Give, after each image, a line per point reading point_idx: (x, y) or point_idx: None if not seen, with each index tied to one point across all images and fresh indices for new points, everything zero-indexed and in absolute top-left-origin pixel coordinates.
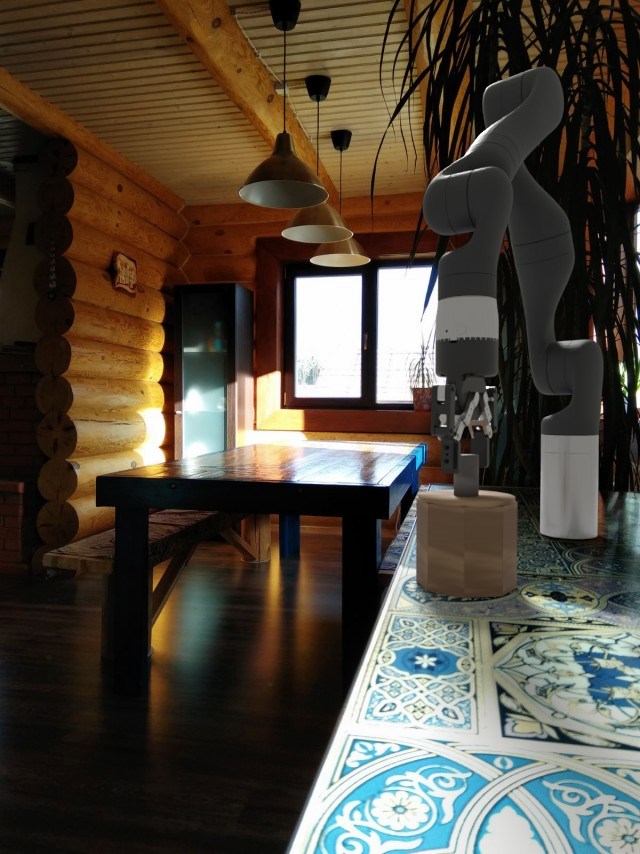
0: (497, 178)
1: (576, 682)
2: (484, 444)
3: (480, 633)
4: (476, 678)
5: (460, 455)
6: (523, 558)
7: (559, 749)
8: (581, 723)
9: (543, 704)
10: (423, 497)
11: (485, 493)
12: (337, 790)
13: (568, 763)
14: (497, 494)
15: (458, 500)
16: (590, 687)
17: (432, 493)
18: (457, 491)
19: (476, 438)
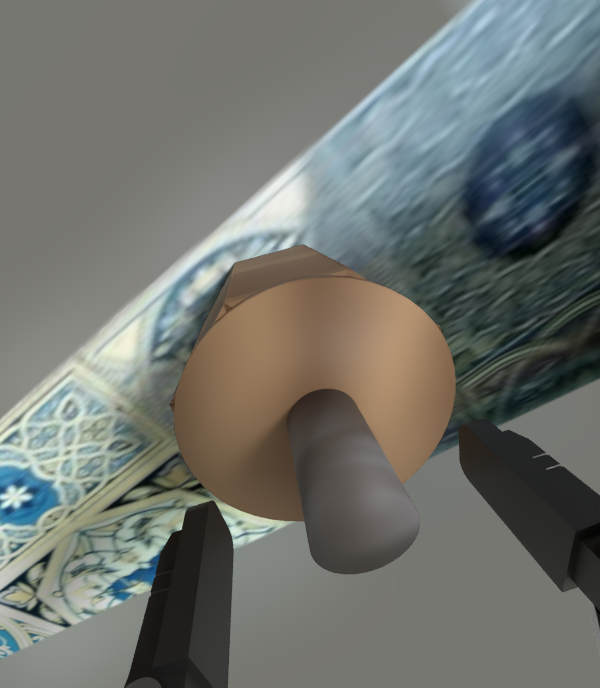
0: None
1: (122, 569)
2: (537, 551)
3: (135, 472)
4: (40, 539)
5: (228, 616)
6: (515, 277)
7: (18, 617)
8: (64, 604)
9: (61, 582)
10: (179, 383)
11: (398, 421)
12: None
13: (10, 626)
14: (402, 447)
15: (222, 473)
16: (124, 577)
17: (276, 336)
18: (289, 429)
19: (579, 550)
